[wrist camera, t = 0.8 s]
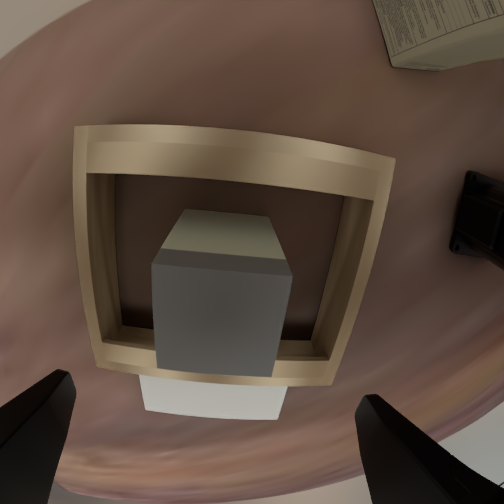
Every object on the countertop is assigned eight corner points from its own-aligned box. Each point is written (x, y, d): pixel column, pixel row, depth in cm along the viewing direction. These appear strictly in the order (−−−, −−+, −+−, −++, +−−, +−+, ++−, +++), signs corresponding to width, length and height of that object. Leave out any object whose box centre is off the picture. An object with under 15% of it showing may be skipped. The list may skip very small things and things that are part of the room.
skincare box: (439, 72, 15) (584, 61, 3) (389, 68, 15) (544, 33, 3) (418, -6, 12) (534, -59, 1) (366, -15, 12) (475, -100, 1)
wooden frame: (364, 152, 17) (395, 158, 13) (317, 348, 22) (331, 385, 18) (106, 126, 15) (74, 126, 12) (114, 332, 21) (97, 366, 17)
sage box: (268, 216, 18) (292, 276, 11) (257, 290, 20) (271, 377, 12) (184, 208, 18) (151, 263, 10) (181, 283, 19) (157, 368, 12)
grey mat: (290, 367, 23) (291, 372, 22) (276, 414, 25) (277, 419, 24) (138, 355, 21) (136, 360, 21) (146, 405, 24) (145, 409, 23)
